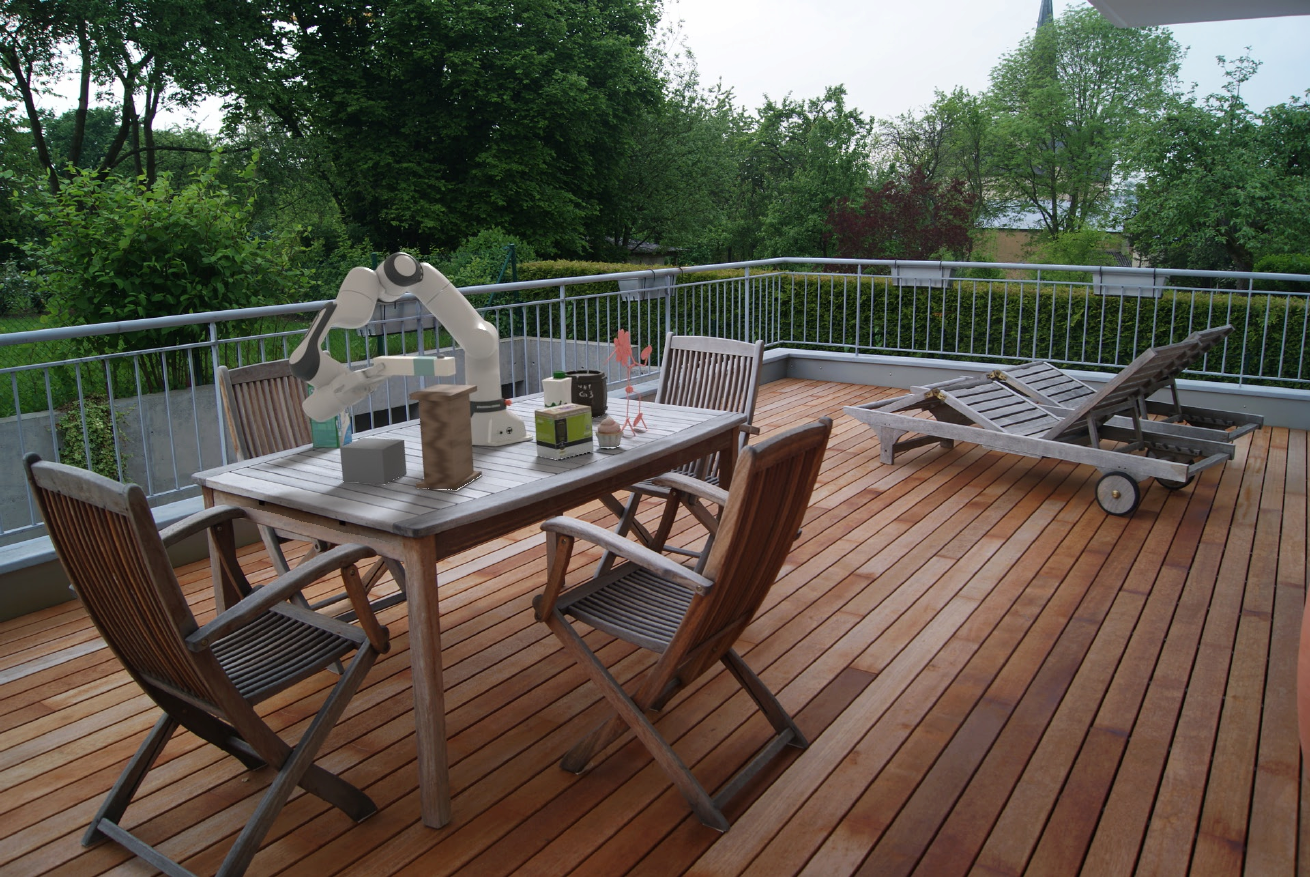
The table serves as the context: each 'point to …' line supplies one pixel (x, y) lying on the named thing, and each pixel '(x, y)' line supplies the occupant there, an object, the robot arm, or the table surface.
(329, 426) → the milk carton
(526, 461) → the table surface
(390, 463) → the podium
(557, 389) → the soya milk
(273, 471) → the table surface
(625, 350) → the pink stick figure
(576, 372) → the dark brown pot
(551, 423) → the tea box
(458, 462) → the stand
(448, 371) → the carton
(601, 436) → the cupcake
